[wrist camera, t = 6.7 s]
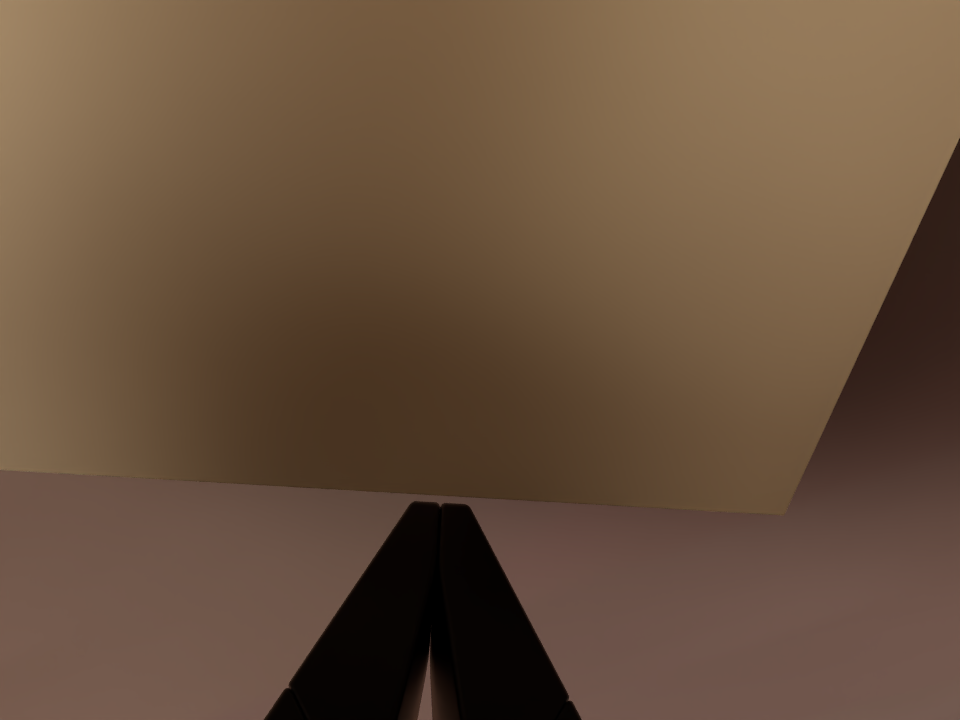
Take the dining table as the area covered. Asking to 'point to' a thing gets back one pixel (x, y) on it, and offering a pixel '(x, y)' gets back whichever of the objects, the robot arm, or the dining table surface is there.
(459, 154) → the oak block
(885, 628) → the dining table surface
